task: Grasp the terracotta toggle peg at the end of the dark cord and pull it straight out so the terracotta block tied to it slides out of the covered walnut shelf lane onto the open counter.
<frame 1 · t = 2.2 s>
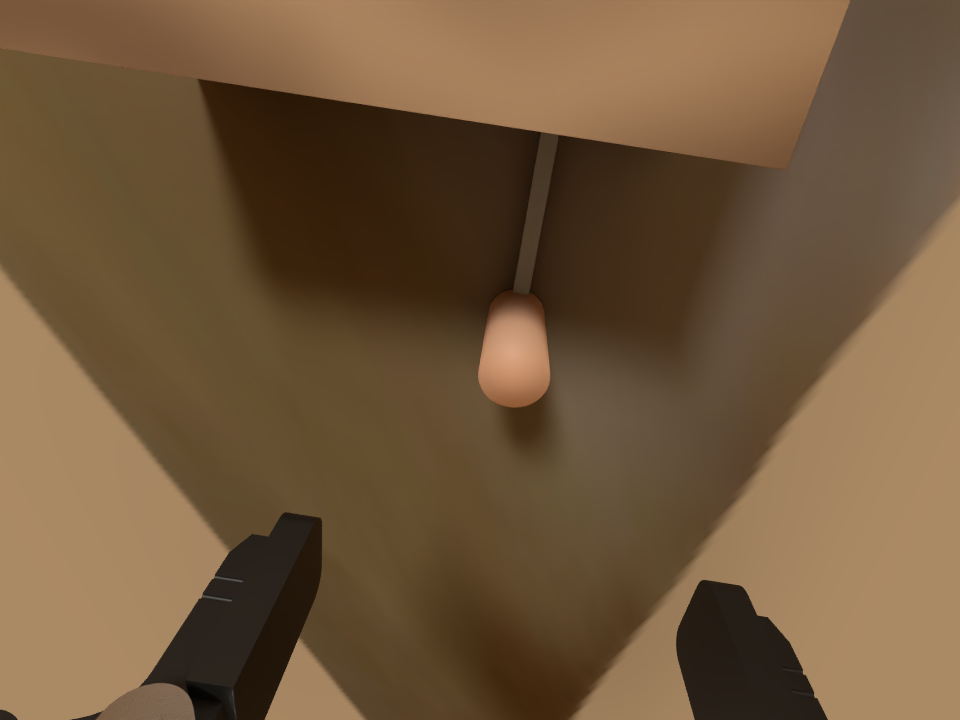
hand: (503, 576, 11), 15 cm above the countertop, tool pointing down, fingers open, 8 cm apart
tethered block: (552, 143, 18), point 3 cm above the countertop, slide at 0.0 cm
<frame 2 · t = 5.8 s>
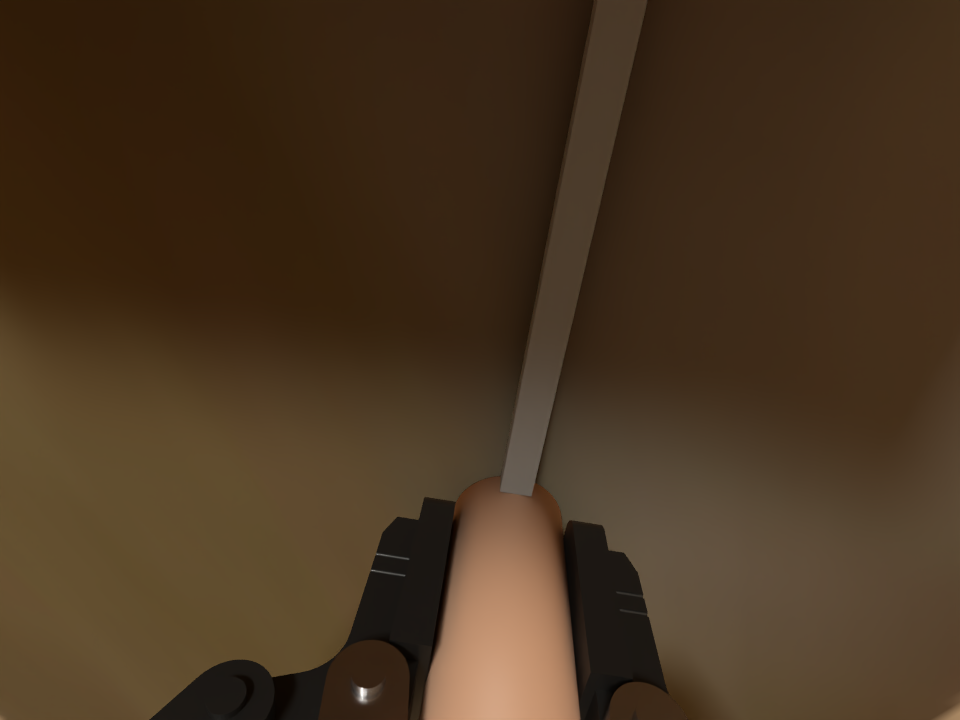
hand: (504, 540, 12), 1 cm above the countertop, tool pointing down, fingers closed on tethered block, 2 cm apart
tethered block: (599, 226, 7), point 3 cm above the countertop, slide at 4.2 cm, touching gripper
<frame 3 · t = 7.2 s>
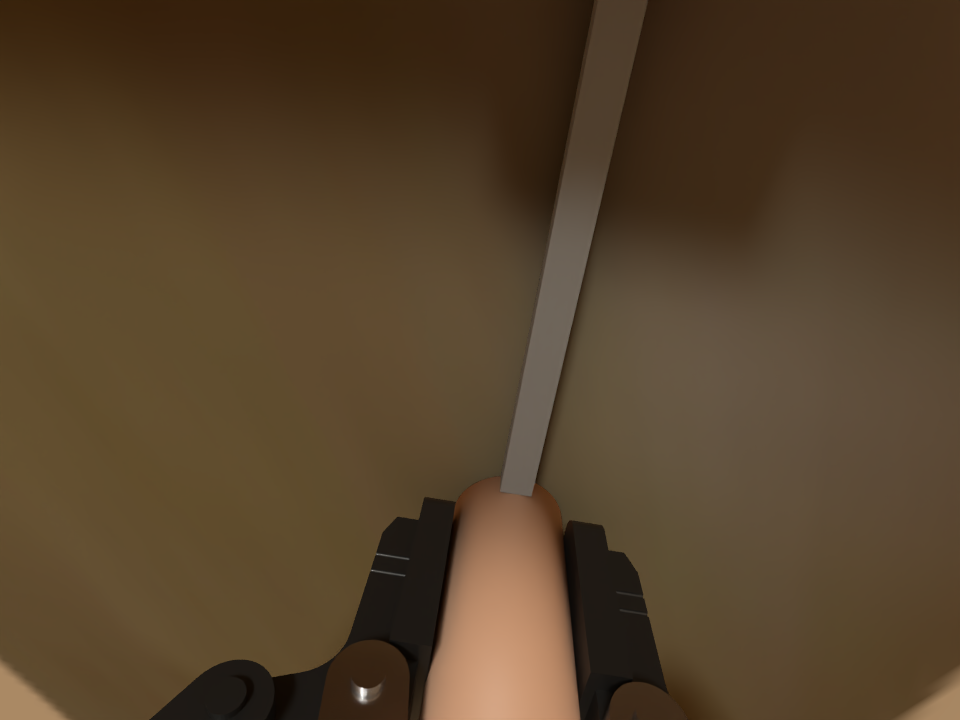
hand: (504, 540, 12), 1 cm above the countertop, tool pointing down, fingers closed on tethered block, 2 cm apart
tethered block: (599, 226, 7), point 3 cm above the countertop, slide at 9.0 cm, touching gripper
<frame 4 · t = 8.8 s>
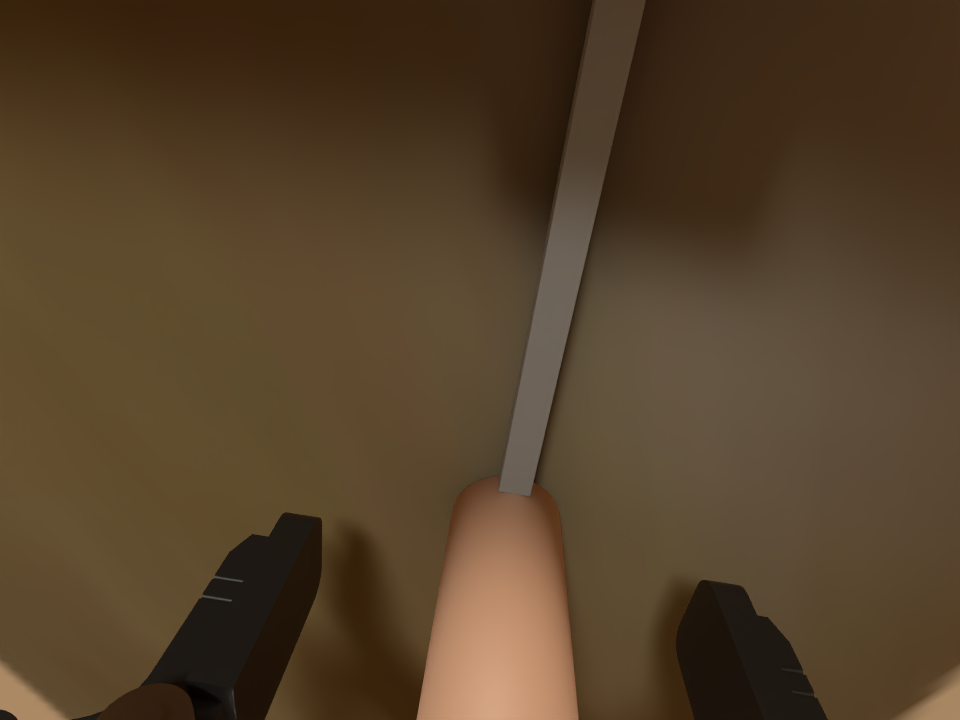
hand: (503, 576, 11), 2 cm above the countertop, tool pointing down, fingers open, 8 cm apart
tethered block: (597, 226, 7), point 3 cm above the countertop, slide at 9.0 cm
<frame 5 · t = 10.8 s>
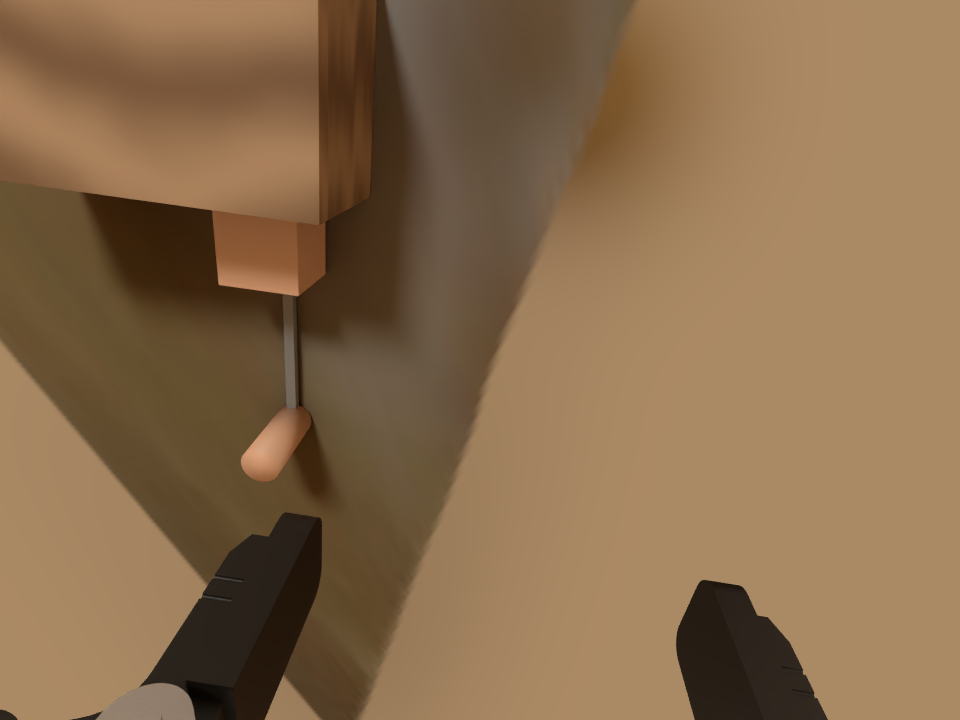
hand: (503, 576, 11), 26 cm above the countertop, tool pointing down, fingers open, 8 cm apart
walnut shelf: (208, 69, 31), on the countertop
tethered block: (274, 343, 35), point 3 cm above the countertop, slide at 9.0 cm
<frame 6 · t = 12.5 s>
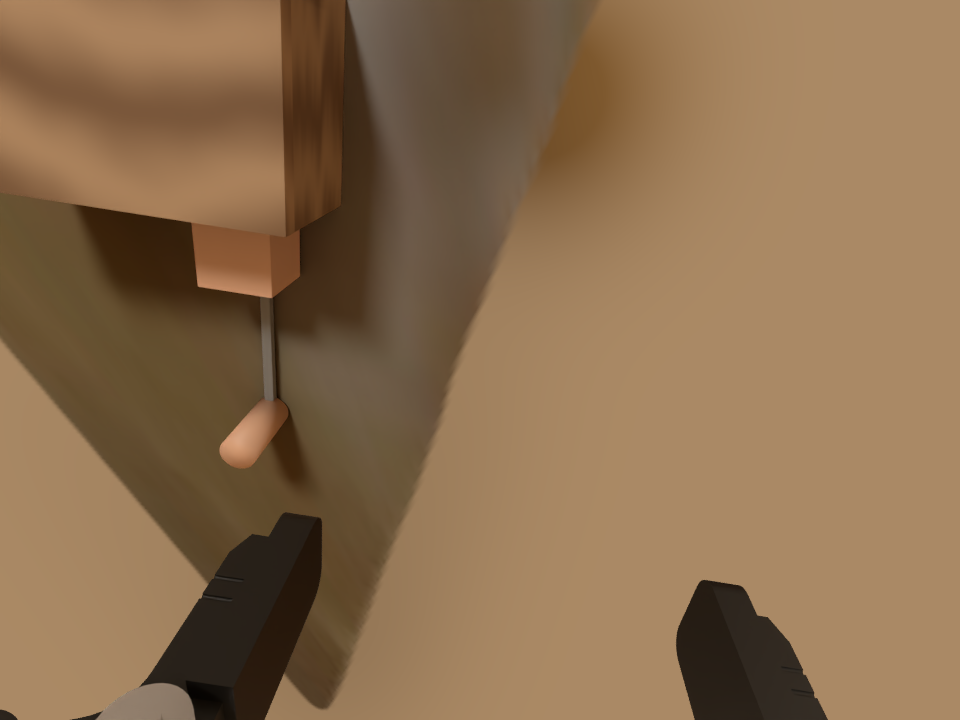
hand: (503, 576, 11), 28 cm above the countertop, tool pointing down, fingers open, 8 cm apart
walnut shelf: (189, 84, 33), on the countertop
tethered block: (251, 340, 37), point 3 cm above the countertop, slide at 9.0 cm
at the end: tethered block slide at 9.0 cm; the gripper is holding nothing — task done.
